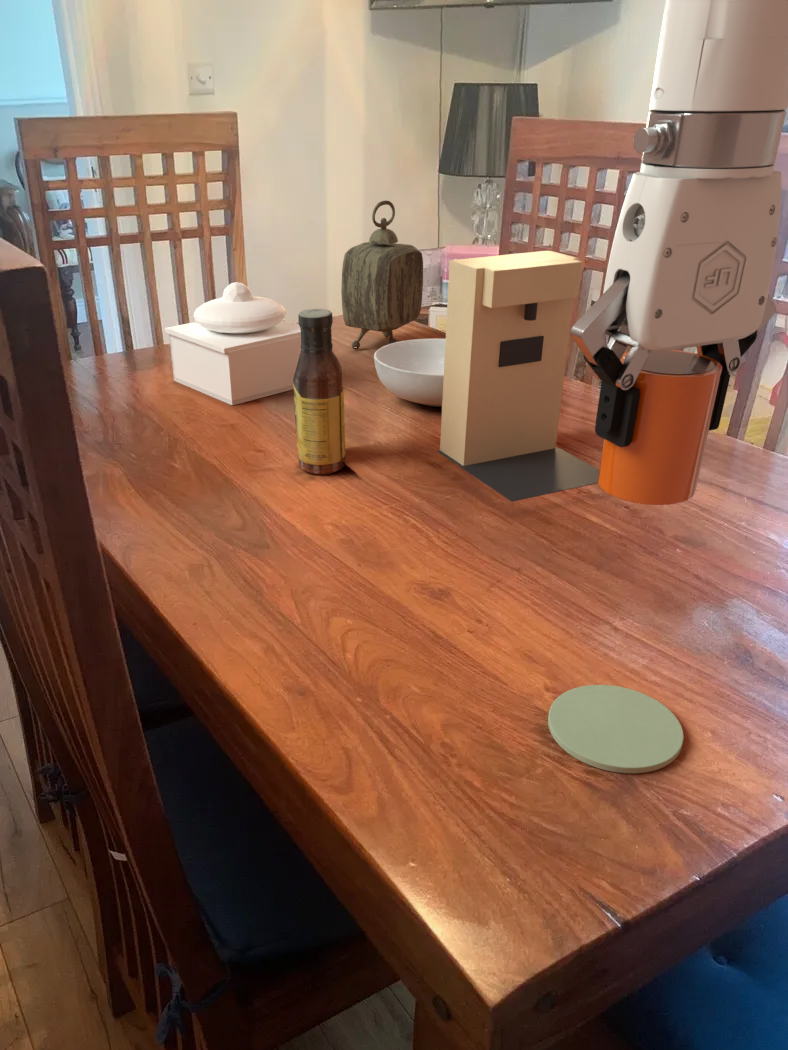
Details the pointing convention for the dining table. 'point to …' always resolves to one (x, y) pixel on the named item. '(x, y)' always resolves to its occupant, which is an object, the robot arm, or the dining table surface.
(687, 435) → the orange cup
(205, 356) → the white lidded box
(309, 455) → the sauce bottle
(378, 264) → the tabletop clock
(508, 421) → the coffee maker
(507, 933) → the dining table surface
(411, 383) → the serving bowl
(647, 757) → the coaster
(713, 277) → the robot arm
